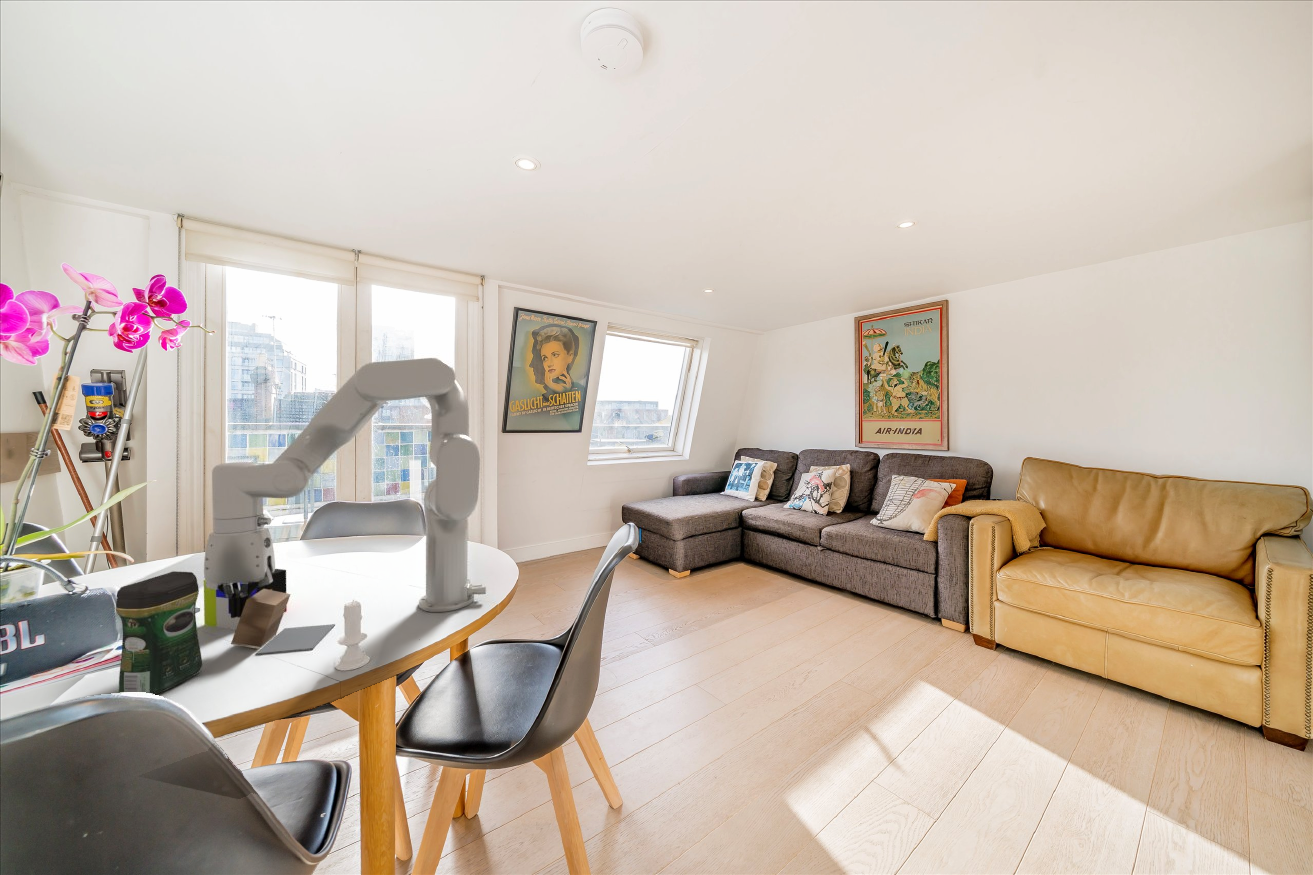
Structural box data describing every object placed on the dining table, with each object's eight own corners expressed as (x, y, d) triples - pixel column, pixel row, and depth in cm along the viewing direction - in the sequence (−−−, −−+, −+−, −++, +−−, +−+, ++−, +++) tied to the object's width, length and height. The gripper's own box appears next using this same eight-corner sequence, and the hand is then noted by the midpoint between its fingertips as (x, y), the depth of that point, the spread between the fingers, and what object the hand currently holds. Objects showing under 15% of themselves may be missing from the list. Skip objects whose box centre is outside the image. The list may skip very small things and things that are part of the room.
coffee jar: (170, 667, 85) (168, 566, 85) (211, 669, 85) (209, 568, 84) (105, 698, 76) (101, 585, 75) (151, 701, 75) (148, 587, 74)
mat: (335, 625, 103) (335, 624, 103) (312, 649, 93) (312, 648, 93) (284, 629, 101) (284, 628, 101) (255, 654, 90) (255, 653, 90)
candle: (346, 656, 90) (346, 595, 90) (375, 656, 91) (374, 595, 90) (328, 671, 85) (328, 606, 84) (359, 671, 85) (358, 606, 85)
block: (275, 635, 98) (290, 594, 99) (259, 649, 92) (275, 605, 93) (248, 630, 97) (263, 588, 97) (230, 644, 91) (246, 599, 91)
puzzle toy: (241, 630, 100) (240, 584, 100) (204, 625, 102) (203, 580, 102) (286, 611, 110) (286, 569, 110) (252, 607, 112) (251, 566, 112)
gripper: (291, 519, 99) (293, 604, 99) (206, 521, 95) (208, 610, 96) (272, 527, 91) (274, 619, 92) (179, 530, 88) (181, 626, 88)
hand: (240, 614), depth 94 cm, fingers closed
